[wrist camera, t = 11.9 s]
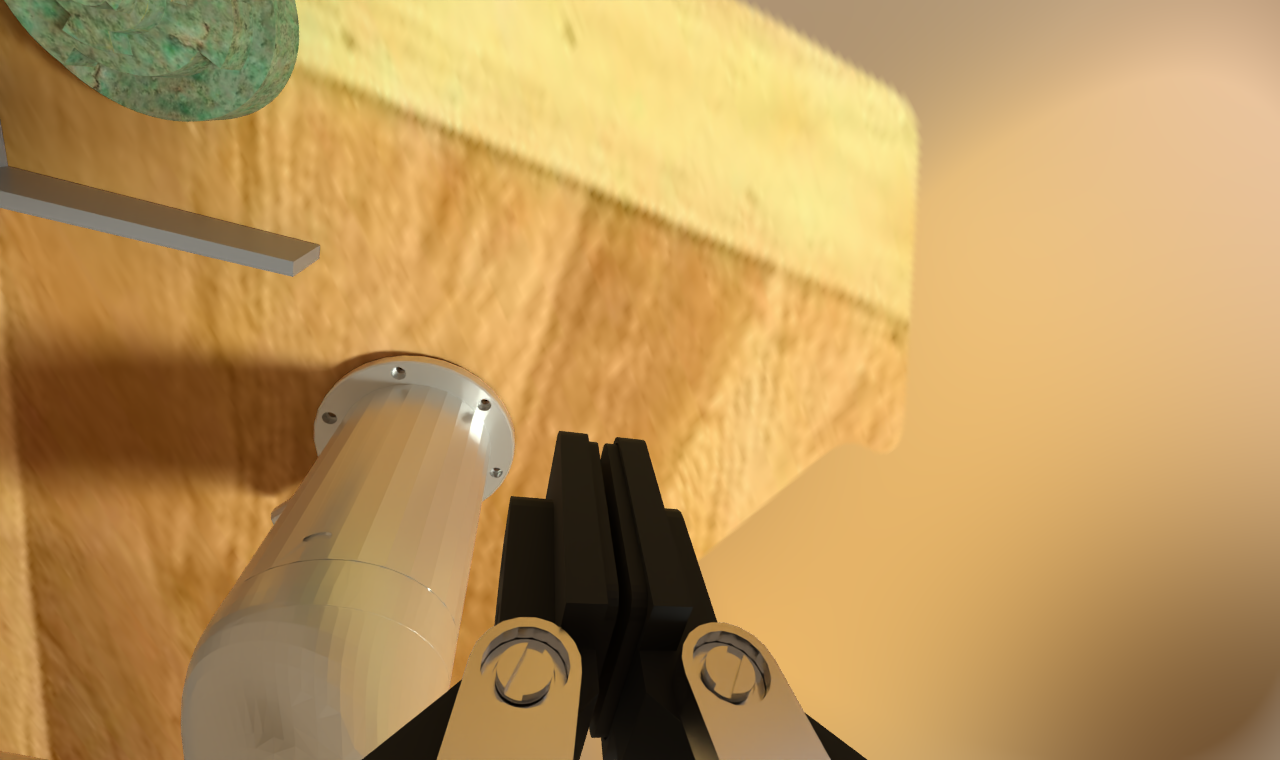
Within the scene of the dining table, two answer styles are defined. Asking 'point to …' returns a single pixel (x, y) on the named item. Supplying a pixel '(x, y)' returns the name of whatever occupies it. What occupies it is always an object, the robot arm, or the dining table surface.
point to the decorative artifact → (171, 51)
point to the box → (150, 221)
